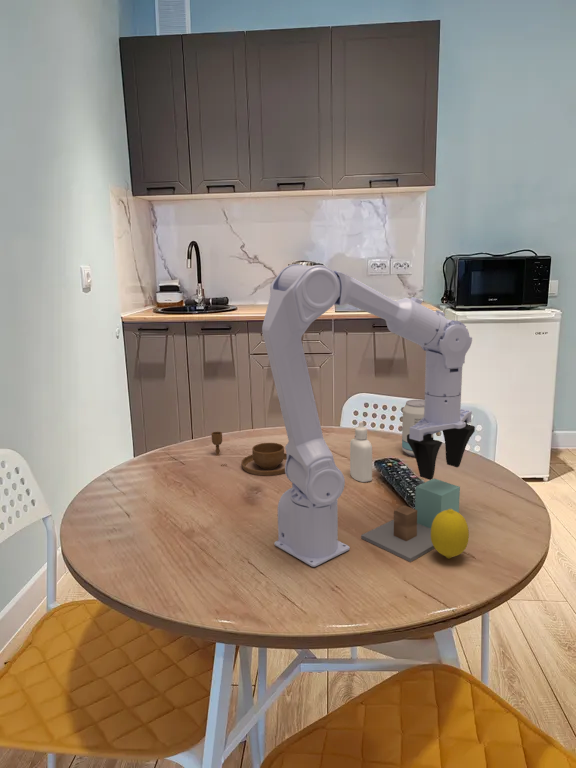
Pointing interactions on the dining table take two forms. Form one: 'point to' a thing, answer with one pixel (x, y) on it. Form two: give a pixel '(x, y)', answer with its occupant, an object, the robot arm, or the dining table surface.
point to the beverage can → (411, 421)
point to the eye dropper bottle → (361, 455)
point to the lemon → (449, 533)
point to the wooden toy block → (405, 523)
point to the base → (400, 541)
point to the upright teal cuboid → (435, 500)
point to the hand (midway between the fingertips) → (440, 471)
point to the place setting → (259, 456)
